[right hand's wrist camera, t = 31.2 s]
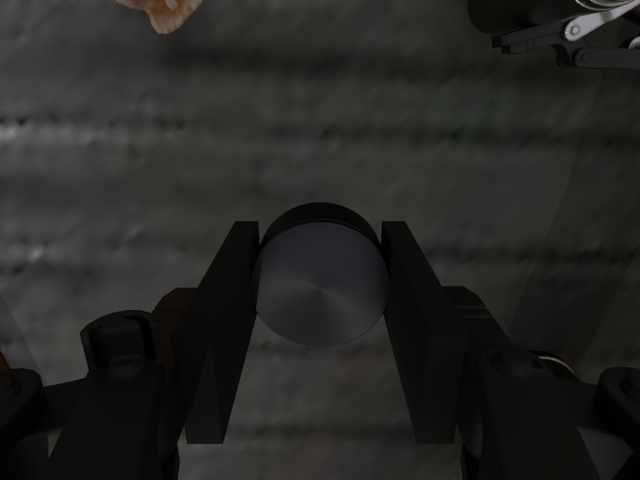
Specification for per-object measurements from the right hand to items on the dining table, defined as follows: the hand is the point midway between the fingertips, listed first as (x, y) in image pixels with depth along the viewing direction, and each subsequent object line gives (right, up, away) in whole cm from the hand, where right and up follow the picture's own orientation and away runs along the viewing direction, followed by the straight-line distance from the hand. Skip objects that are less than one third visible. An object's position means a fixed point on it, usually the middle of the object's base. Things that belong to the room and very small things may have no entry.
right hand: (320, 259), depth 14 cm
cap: (0, -1, -2) cm, 2 cm away
